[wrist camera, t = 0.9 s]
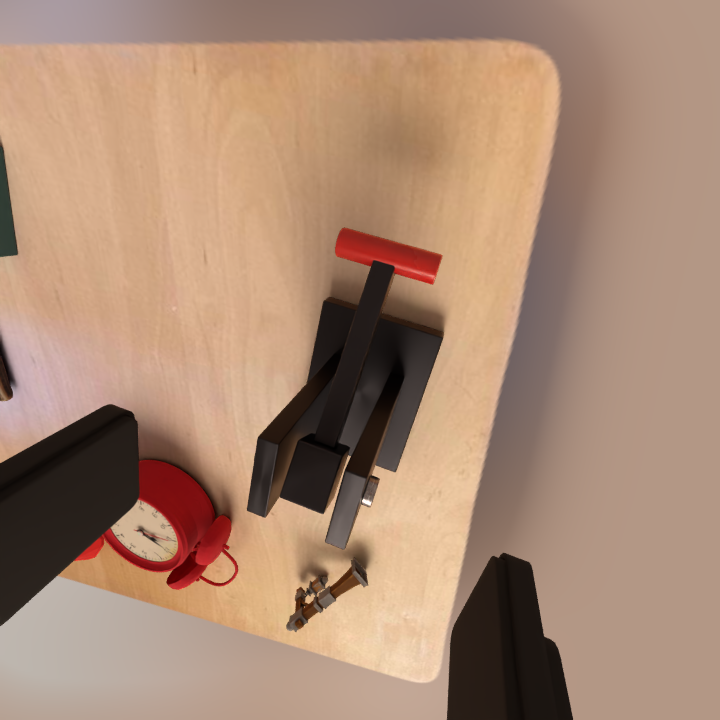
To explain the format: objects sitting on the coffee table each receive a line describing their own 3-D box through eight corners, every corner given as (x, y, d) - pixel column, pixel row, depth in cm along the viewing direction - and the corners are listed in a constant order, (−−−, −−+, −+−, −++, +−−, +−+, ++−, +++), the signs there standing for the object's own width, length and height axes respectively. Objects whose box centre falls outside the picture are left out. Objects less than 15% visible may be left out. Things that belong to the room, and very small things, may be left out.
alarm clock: (102, 452, 32) (216, 597, 30) (167, 425, 38) (268, 545, 35) (70, 515, 36) (166, 645, 34) (132, 483, 42) (219, 593, 40)
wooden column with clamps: (285, 590, 37) (279, 629, 32) (352, 540, 37) (355, 572, 32) (297, 603, 37) (292, 644, 32) (363, 553, 37) (368, 587, 32)
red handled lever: (348, 237, 20) (340, 218, 18) (440, 263, 20) (444, 247, 17) (269, 473, 20) (251, 486, 18) (359, 508, 19) (352, 526, 17)
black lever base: (329, 296, 26) (233, 357, 15) (444, 332, 25) (427, 425, 14) (301, 428, 30) (213, 546, 20) (398, 463, 29) (358, 608, 19)
